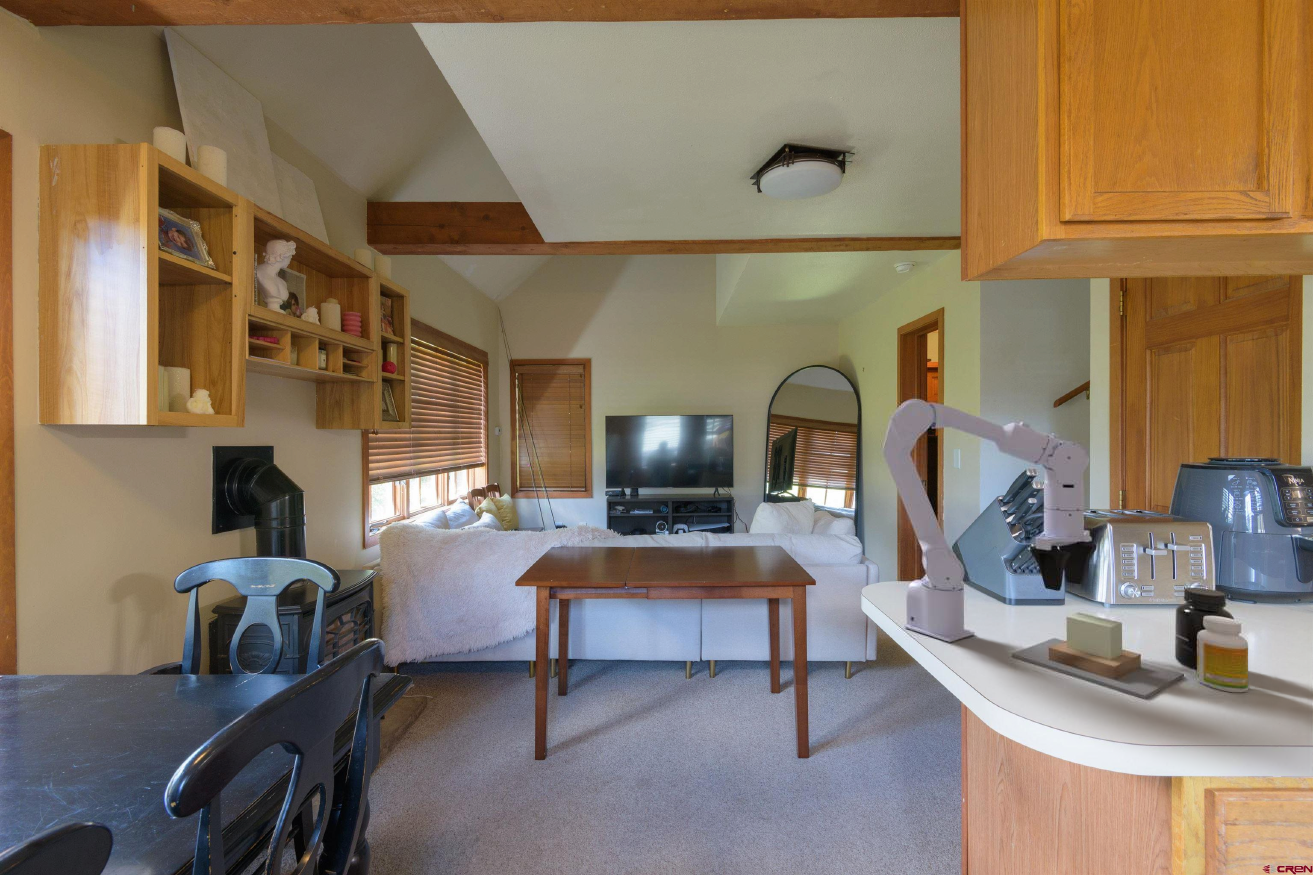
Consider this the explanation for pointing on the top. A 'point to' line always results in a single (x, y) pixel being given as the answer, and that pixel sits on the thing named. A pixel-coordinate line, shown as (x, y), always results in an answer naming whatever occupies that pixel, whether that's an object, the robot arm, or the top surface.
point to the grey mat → (1133, 683)
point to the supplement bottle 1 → (1195, 621)
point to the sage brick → (1094, 635)
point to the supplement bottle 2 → (1222, 655)
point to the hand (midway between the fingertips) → (1063, 586)
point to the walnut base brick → (1096, 661)
